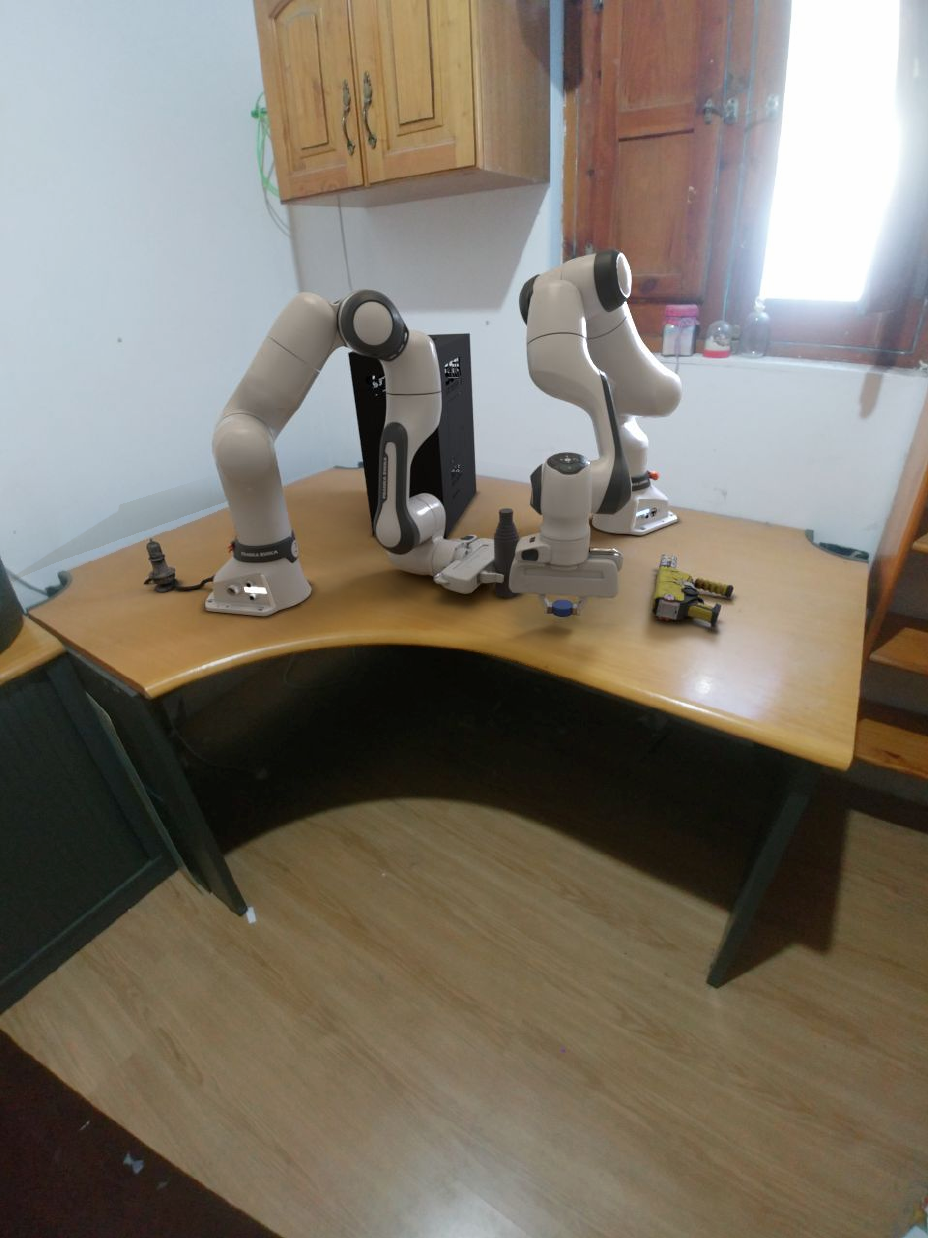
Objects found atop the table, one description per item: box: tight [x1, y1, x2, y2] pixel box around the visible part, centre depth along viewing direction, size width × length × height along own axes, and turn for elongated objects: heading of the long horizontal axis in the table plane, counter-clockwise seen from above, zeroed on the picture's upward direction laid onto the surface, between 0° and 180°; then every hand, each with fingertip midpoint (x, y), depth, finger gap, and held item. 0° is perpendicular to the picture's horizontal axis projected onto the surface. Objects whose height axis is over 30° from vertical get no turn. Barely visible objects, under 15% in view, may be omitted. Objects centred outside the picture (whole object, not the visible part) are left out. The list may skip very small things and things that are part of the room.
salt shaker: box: [145, 538, 180, 593], centre depth 137 cm, size 6×6×12 cm
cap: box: [551, 599, 574, 619], centre depth 115 cm, size 4×4×2 cm
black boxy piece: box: [347, 332, 477, 540], centre depth 163 cm, size 38×20×45 cm, turn 167°
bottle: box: [493, 507, 520, 599], centre depth 125 cm, size 5×5×18 cm
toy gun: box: [650, 553, 734, 628], centre depth 121 cm, size 5×24×15 cm
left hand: (511, 571), depth 126 cm, fingers closed on bottle, 5 cm apart
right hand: (562, 613), depth 116 cm, fingers closed on cap, 4 cm apart
